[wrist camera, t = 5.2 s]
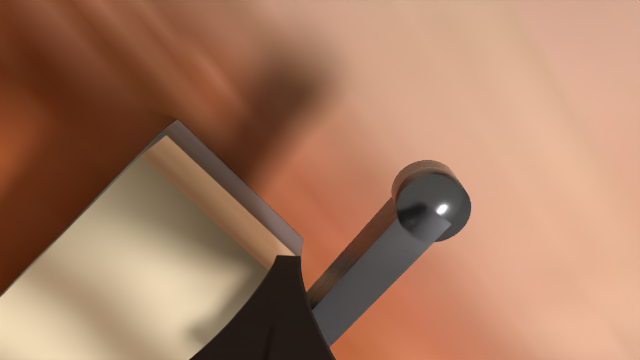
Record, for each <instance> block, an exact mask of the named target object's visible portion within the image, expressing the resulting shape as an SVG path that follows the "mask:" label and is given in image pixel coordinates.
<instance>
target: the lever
mask: <svg viewBox="0 0 640 360" xmlns="http://www.w3.org/2000/svg"><path fill="white" fill-rule="evenodd" d="M470 212H471V202H470V198H469V196H468V194H467V192H466V191H465V189H464V188H463V186H462V185H461V183H460V182H459V180H458V179H457V178H456V176H455V175H454V173H453V172H452V171H451V169H450V168H448V167H447V166H446V165H444V164H442V163H440V162H437V161H432V160H422V161H418V162H414V163H412V164H410V165H408V166H406V167H405V168H404V169H403V170H401V171H400V172H399V174H398V175H397V176H396V178H395V180H394V182H393V185H392V197H391V198H390V199H389V200H388V201H387V203H386V204H385V205H384V206H383V207H382V208H381V209H380V210H379V212H378V213H377V214H376V215H375V216H374V217H373V218H372V219H371V221H370V222H369V223H368V224H367V225H366V226H365V227H364V228H363V229H362V231H361V232H360V233H359V234H358V235H357V236H356V237H355V238H354V240H353V241H352V242H351V243H350V244H349V245H348V246H347V247H346V249H345V250H344V251H343V252H342V253H341V254H340V255H339V256H338V257H337V259H336V260H335V261H334V262H333V263H332V264H331V265H330V266H329V268H328V269H327V270H326V271H325V272H324V273H323V274H322V275H321V277H320V278H319V279H318V280H317V281H316V282H315V283H314V284H313V285H312V287H311V288H310V289H309V290H308V291H307V292H306V294H307V297H308V300H309V303H310V306H311V309H312V311H313V314H314V316H315V319H316V321H317V324H318V326H319V328H320V330H321V333H322V335H323V337H324V339H325V341H326V343H327V345H328V347H330V346H331V345H332V344H333V343H334V342H335V341H336V340H337V339H338V338H339V337H340V336H341V335H342V334H343V333H344V332H345V331H346V330H347V329H348V328H349V327H350V326H351V325H352V324H353V323H354V322H355V321H356V320H357V319H358V318H359V317H360V316H361V315H362V314H363V313H364V312H365V311H366V310H367V309H368V308H369V307H370V306H371V305H372V304H373V303H374V302H375V301H376V300H377V299H378V298H379V297H380V296H381V295H382V294H383V293H384V292H385V291H386V290H387V289H388V288H389V287H390V286H391V285H392V284H393V283H394V282H395V281H396V280H397V279H398V278H399V277H400V276H401V275H402V274H403V273H404V272H405V271H406V270H407V269H408V268H409V267H410V266H411V265H412V264H413V263H414V262H415V261H416V260H417V259H418V258H419V257H420V256H421V255H422V254H423V253H424V252H425V251H426V250H427V249H428V248H429V247H430V246H431V245H432V244H433V243H434V242H439V241H443V240H446V239H448V238H451V237H452V236H454V235H456V234H457V233H458V232H459V231H460V230H461V229H462V228H463V227H464V226H465V224H466V223H467V221H468V219H469V216H470Z"/></svg>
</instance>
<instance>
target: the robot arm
mask: <svg viewBox="0 0 640 360" xmlns="http://www.w3.org/2000/svg"><path fill="white" fill-rule="evenodd" d="M189 360H336V359H335V357H334V356H333V354H332V352H331V350H330V348H329V347H328V345H327V343H326V341H325V339H324V337H323V335H322V333H321V330H320V328H319V326H318V324H317V321H316V319H315V316H314V314H313V311H312V309H311V306H310V303H309V300H308V297H307V294H306V290H305V287H304V283H303V278H302V272H301V256H289V255H277V256H276V258H275V261H274V263H273V265H272V267H271V268H270V270H269V272H268V273H267V275H266V276H265V278H264V279H263V281H262V282H261V283H260V285H259V286H258V287H257V289H256V290H255V291H254V293H253V294H252V295H251V297H250V298H249V299H248V301H247V302H246V303H245V304H244V305H243V307H242V308H241V309H240V310H239V311H238V312H237V313H236V315H235V316H234V317H233V318H232V319H231V320H230V321H229V323H228V324H227V325H226V326H225V327H224V328H223V329H222V330H221V331H220V332H219V333H218V334H217V335H216V336H215V337H214V338H213V339H212V340H211V341H210V342H209V343H207V344H206V345H205V346H204V347H203V348H202V349H201V350H200V351H198V352H197V353H196V354H195V355H194V356H193V357H192V358H190V359H189Z"/></svg>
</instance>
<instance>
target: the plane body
mask: <svg viewBox="0 0 640 360" xmlns="http://www.w3.org/2000/svg"><path fill="white" fill-rule="evenodd" d="M302 246H303V238H302V237H301V236H299V235H298V234H297V233H296V232H295V231H294V230H293V229H292V228H291V227H290V226H289V225H288V224H287V223H286V222H285V221H284V220H283V219H282V218H281V217H280V216H279V215H278V214H276V213H275V212H274V211H273V210H272V209H271V208H270V207H269V206H268V205H267V204H266V203H265V202H264V201H263V200H262V199H261V198H260V197H259V196H258V195H257V194H256V193H254V192H253V191H252V190H251V189H250V188H249V187H248V186H247V185H246V184H245V183H244V182H243V181H242V180H241V179H240V178H239V177H238V176H237V175H236V174H235V173H234V172H233V171H231V170H230V169H229V168H228V167H227V166H226V165H225V164H224V163H223V162H222V161H221V160H220V159H219V158H218V157H217V156H216V155H215V154H214V153H213V152H212V151H211V150H210V149H208V148H207V147H206V146H205V145H204V144H203V143H202V142H201V141H200V140H199V139H198V138H197V137H196V136H195V135H194V134H193V133H192V132H191V131H190V130H189V129H188V128H186V127H185V126H184V125H183V124H182V123H181V122H180V121H179V120H178V119H177V120H176V121H174V122H173V123H172V124H170V125H169V126H168V127H166V128H165V129H164V130H162V131H161V132H160V133H159V134H158V135H157V136H156V137H155V138H154V139H153V140H152V141H151V142H150V143H149V144H148V145H147V146H146V147H145V148H144V149H143V150H142V151H141V152H140V153H139V154H138V156H137V157H136V158H135V159H134V160H133V161H132V162H131V163H130V164H129V165H128V166H127V167H126V168H125V169H124V170H123V171H122V172H121V173H120V174H119V175H118V176H117V177H116V178H115V179H114V180H113V181H112V182H111V183H110V184H109V185H108V186H107V187H106V188H105V189H104V190H103V191H102V192H101V193H100V194H99V195H98V196H97V197H96V198H95V199H94V200H93V201H92V202H91V203H90V204H89V205H88V206H87V207H86V208H85V209H84V210H83V211H82V212H81V213H80V214H79V215H78V216H77V217H76V218H75V219H74V220H73V221H72V222H71V223H70V224H69V226H68V227H67V228H66V229H65V230H64V231H63V232H62V233H61V234H60V235H59V236H58V237H57V238H56V239H55V240H54V241H53V242H52V243H51V244H50V245H49V246H48V247H47V248H46V249H45V250H44V251H43V252H42V253H41V254H40V255H39V256H38V257H37V258H36V259H35V260H34V261H33V262H32V263H31V264H30V265H29V266H28V267H27V268H26V269H25V270H24V271H23V272H22V273H21V274H20V275H19V276H18V277H17V278H16V279H15V280H14V281H13V282H12V283H11V284H10V285H9V286H8V287H7V288H6V289H5V290H4V291H3V292H2V293H1V294H0V360H189V359H190V358H192V357H193V356H194V355H195V354H196V353H197V352H198V351H200V350H201V349H202V348H203V347H204V346H205V345H206V344H207V343H209V342H210V341H211V340H212V339H213V338H214V337H215V336H216V335H217V334H218V333H219V332H220V331H221V330H222V329H223V328H224V327H225V326H226V325H227V324H228V323H229V321H230V320H231V319H232V318H233V317H234V316H235V315H236V313H237V312H238V311H239V310H240V309H241V308H242V307H243V305H244V304H245V303H246V302H247V301H248V299H249V298H250V297H251V295H252V294H253V293H254V291H255V290H256V289H257V287H258V286H259V285H260V283H261V282H262V281H263V279H264V278H265V276H266V275H267V273H268V272H269V270H270V268H271V267H272V265H273V263H274V261H275V258H276V256H277V255H289V256H301V253H302Z"/></svg>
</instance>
